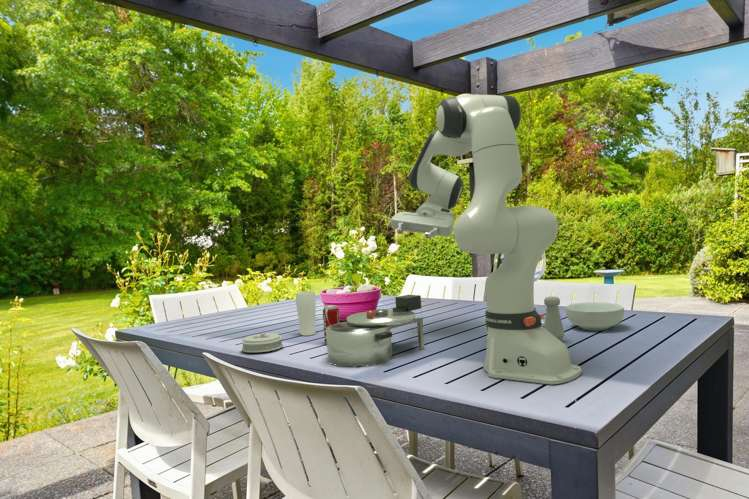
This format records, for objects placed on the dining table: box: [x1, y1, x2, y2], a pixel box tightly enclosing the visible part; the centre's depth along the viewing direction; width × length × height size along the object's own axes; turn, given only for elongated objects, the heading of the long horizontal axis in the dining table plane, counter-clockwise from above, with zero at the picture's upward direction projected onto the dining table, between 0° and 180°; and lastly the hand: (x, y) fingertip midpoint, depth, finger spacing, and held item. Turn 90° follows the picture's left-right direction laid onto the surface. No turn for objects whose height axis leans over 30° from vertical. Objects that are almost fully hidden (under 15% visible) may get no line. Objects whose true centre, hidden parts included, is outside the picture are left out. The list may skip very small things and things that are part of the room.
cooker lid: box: [346, 294, 422, 327], centre depth 151 cm, size 20×25×5 cm
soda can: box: [322, 304, 341, 345], centre depth 165 cm, size 5×5×12 cm
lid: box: [241, 332, 284, 353], centre depth 162 cm, size 13×13×5 cm
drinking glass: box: [295, 290, 317, 337], centre depth 181 cm, size 7×7×15 cm
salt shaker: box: [543, 296, 565, 342], centre depth 148 cm, size 6×6×13 cm
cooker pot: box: [326, 317, 425, 367], centre depth 147 cm, size 22×27×9 cm
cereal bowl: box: [565, 301, 625, 332], centre depth 163 cm, size 17×17×7 cm
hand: (413, 234), depth 159 cm, fingers open, 8 cm apart
